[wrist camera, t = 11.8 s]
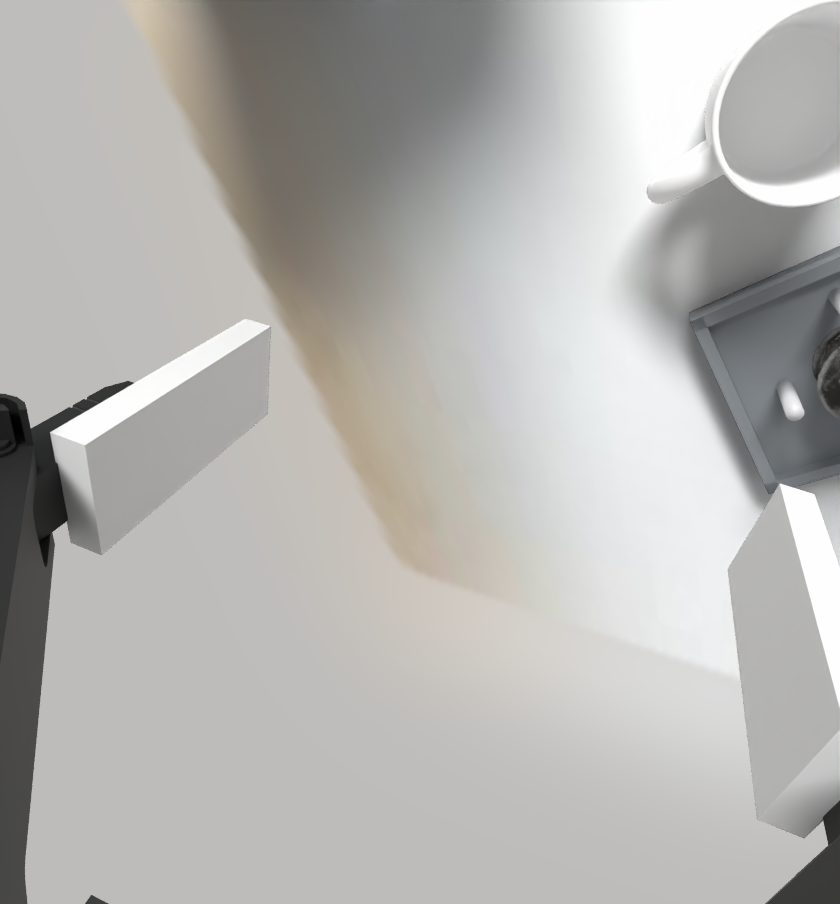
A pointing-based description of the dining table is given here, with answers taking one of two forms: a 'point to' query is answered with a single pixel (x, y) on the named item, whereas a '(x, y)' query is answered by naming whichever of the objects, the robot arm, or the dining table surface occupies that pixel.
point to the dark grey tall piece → (828, 372)
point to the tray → (778, 368)
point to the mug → (772, 116)
